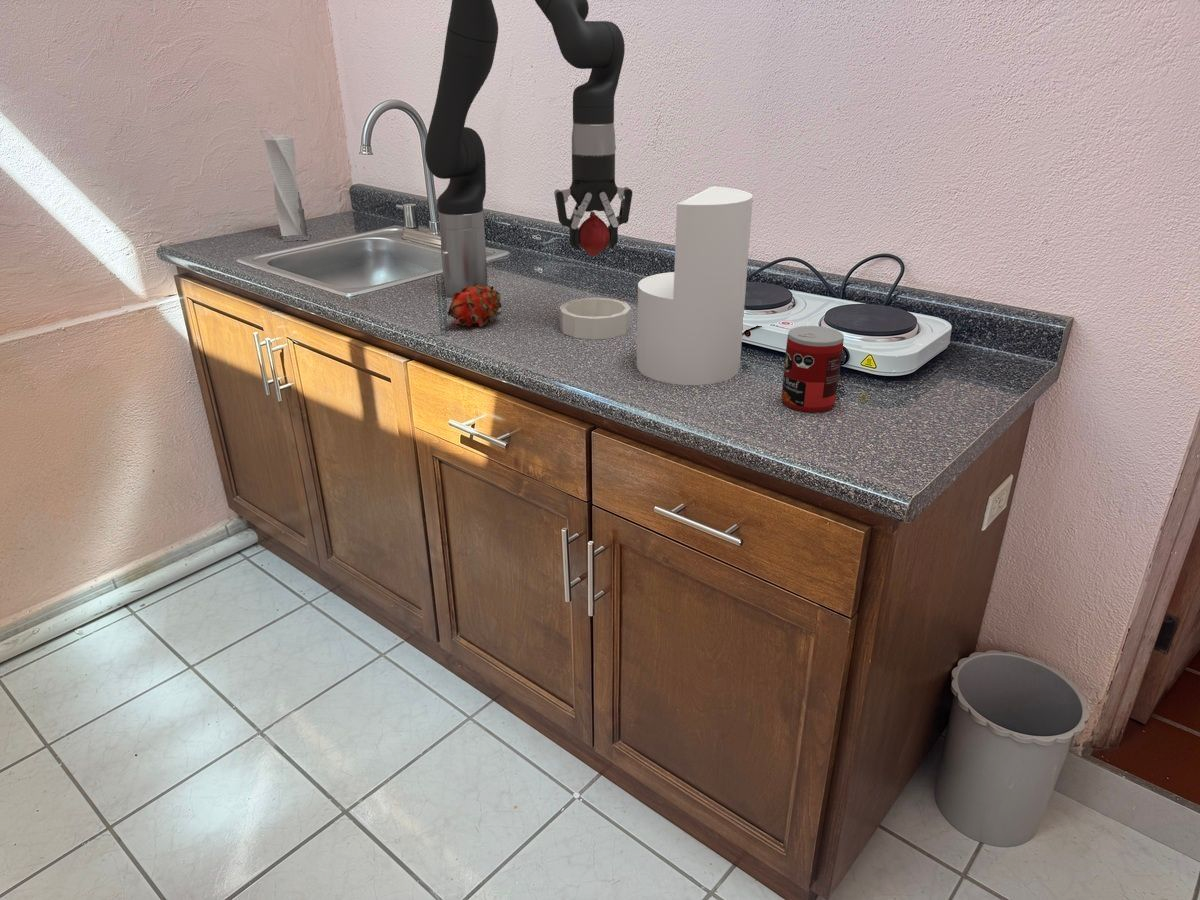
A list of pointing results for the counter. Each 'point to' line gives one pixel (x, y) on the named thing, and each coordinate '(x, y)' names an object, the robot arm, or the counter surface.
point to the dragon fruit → (475, 305)
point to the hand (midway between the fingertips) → (593, 247)
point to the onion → (594, 235)
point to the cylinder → (698, 294)
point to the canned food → (812, 368)
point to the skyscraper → (285, 184)
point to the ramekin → (595, 318)
